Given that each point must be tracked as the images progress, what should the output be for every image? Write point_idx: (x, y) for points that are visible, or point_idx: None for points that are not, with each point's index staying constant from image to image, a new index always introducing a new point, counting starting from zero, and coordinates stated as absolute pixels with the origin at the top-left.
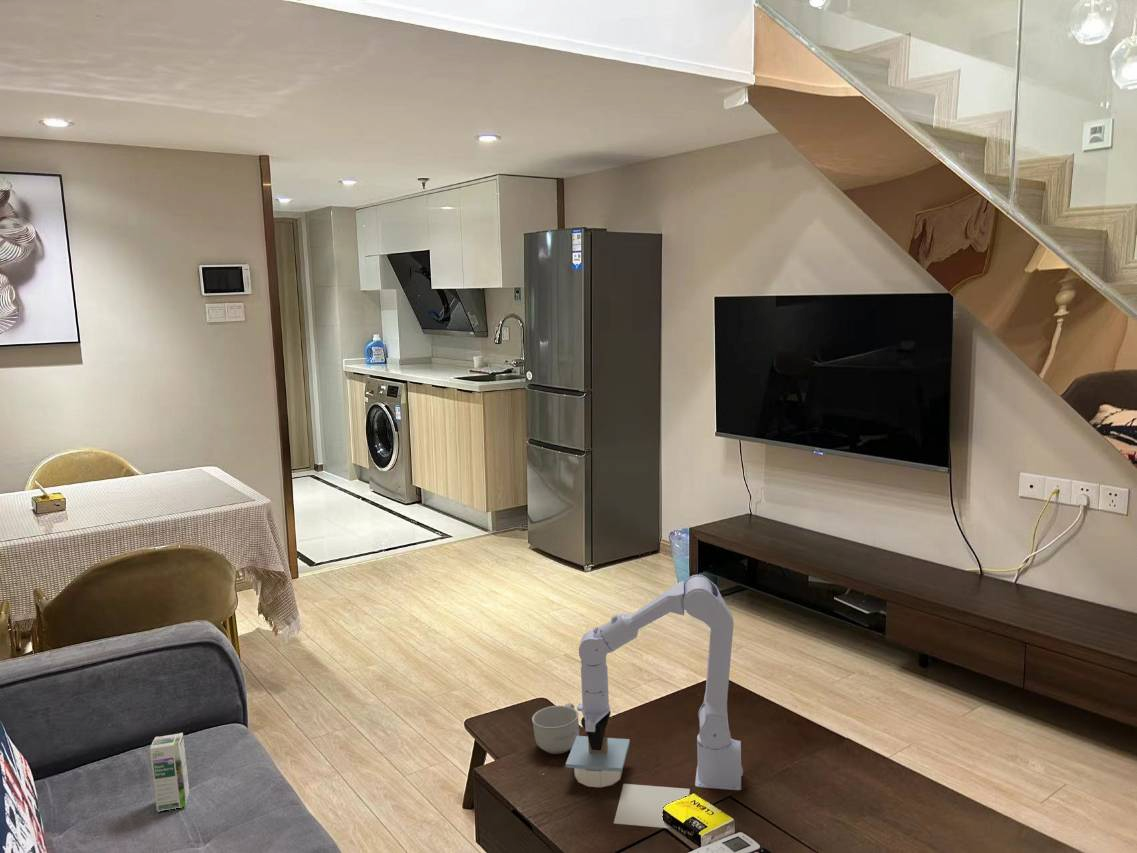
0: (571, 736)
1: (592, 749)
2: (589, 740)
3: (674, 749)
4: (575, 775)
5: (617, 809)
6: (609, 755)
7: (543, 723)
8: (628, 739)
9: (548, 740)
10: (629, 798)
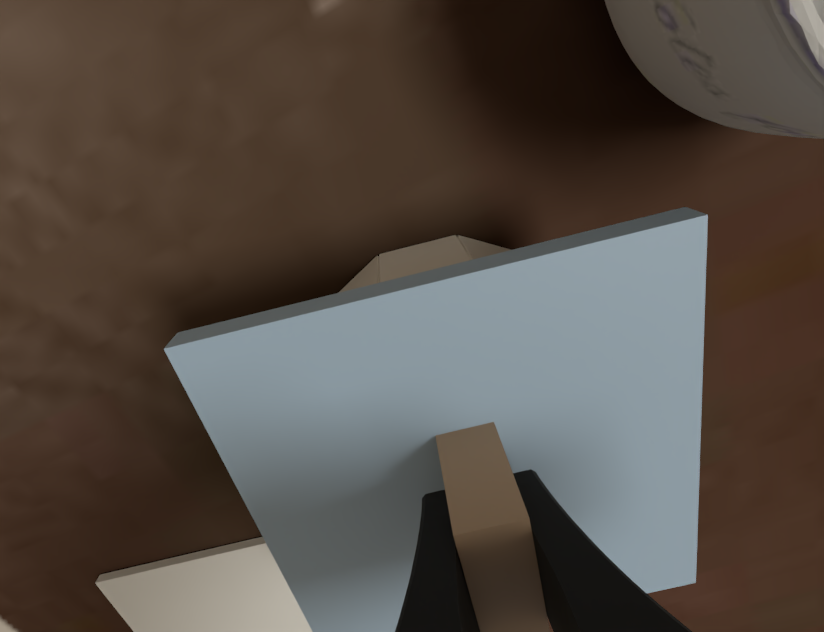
0: (744, 116)
1: (424, 502)
2: (409, 580)
3: (765, 563)
4: (363, 275)
5: (197, 560)
6: None
7: None
8: (691, 578)
9: None
10: None
